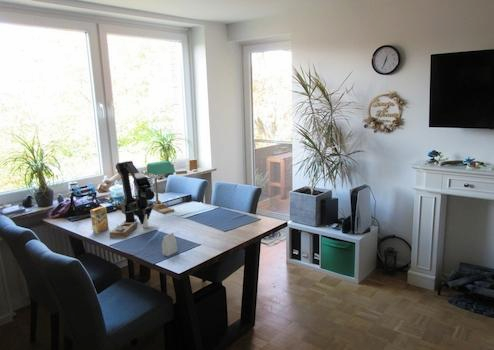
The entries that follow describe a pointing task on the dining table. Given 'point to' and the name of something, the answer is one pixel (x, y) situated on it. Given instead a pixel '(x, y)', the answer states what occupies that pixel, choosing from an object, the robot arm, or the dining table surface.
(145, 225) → the cream dowel
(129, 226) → the walnut socket block
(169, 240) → the tea bag
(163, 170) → the banker's lamp
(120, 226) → the grey metal stub
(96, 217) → the candy box
